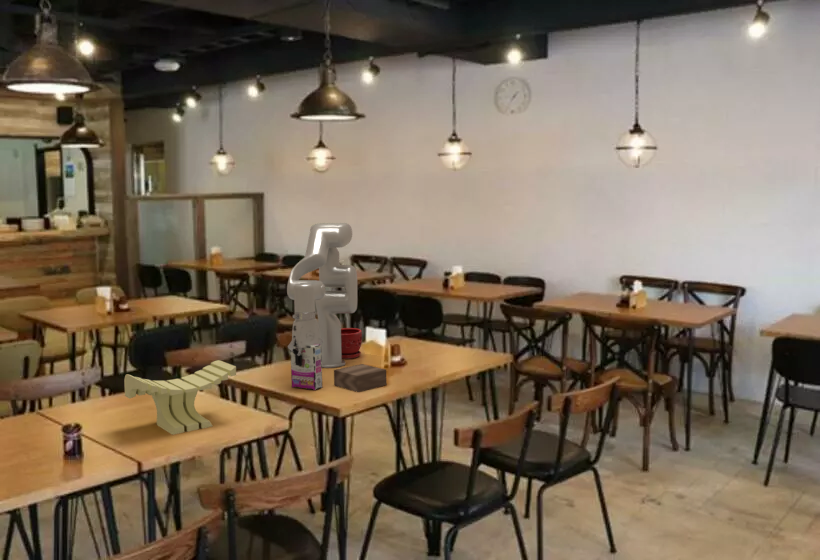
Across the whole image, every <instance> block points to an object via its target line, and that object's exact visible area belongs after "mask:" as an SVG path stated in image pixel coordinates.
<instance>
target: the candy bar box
mask: <svg viewBox="0 0 820 560" xmlns="http://www.w3.org/2000/svg"><path fill="white" fill-rule="evenodd" d="M293 347H294V346H293ZM294 348H295V347H294ZM298 349H299V348H298ZM289 350H290V349H289ZM289 352H290V374H291V375H290V376H291V377H290V378H291V388H294V387H300V388H299V389H302V388H307V389H306V390H310V389H313V390H312V391H316V389H317V390H319V388H320V389H322V388H323V367H322V358H321V345H311V346H307V347H306V348H302V351H301V354H300V355H302V366H298V365H296V363H295V355H294V353H293V352H292V351H291V350H290V351H289Z"/></svg>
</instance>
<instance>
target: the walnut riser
mask: <svg viewBox="0 0 820 560" xmlns="http://www.w3.org/2000/svg"><path fill="white" fill-rule="evenodd" d="M333 382H334V383H333V385H335V387H338V386H339V387H338V388H341V387H343V388H342V389H345V388H346V389H345V390H349V391H352V390H353V392H356V391H357V392H356V393H360V392H364V391H368V390H373V389H377V388H381V387H385V386H387V369H385V368H380V367H378V366H377V367H376V366H373V365H368V364H364V363H360V364H357V365H352V366H347V367H341V368H338V369H337V368H336V369H333ZM384 385H385V386H384ZM380 386H381V387H380ZM376 387H377V388H376Z"/></svg>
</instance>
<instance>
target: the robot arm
mask: <svg viewBox="0 0 820 560" xmlns="http://www.w3.org/2000/svg"><path fill="white" fill-rule="evenodd" d="M309 231H310V232H309V236H308V241H307V244H306V245H307V246H306V249H305V256H304V257H303V258H302V259H300V260H299V262H297V263H296V264H295V265H294V266H293V268H292V269H291V271H290V273H289V276H288V281H287V286H286V293H287V297H288V298H289V300H290V299H291V300H293V301H294V314H292V319H294V320H293V324H292V332H291V341H290V343H289V344H288V345H287V349H288V350H291V351H292V352H293V353H294V355H295V363H296V365H298V366H302V355H300V354H301V351H302V348H306V347H307V346H311V345H321V358H322V368H326V369H327V368H339V367H343V366H345V365H346V361H345V359H344V360H343V359H342V352H341V329H342V323H341V320H340V319H339V318H338V316H337V315H336V314H354V313H355V312H356V311H357V309H358V272H357V269H356V267H355V266H354V265H351V264H341V263H340V251H339V250H338V249H337V248H340V249H341V248H344V247H346V246H347V245H348V244H349V243H350V242H351V241H352V239H353V238H352V237H353V229H352V226H351V225H350V224H349V223H347V222H346V223H345V222H339V223H338V222H336V223H335V222H327V223H326V222H322V223H321V222H320V223H319V222H318V223H315V224H313V225H311V227H310V230H309ZM315 270H318V280H315V279H314V280H313V279H311V280H310V279H309V280H308V279H302V280H301V278H302V277H303V276H305V275H306V274H309V273H310V272H313V271H315ZM326 288H343V289H345V290H326ZM316 312H317V318H316ZM293 346H294V347H295V348H294V347H293ZM298 348H299V349H298Z"/></svg>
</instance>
